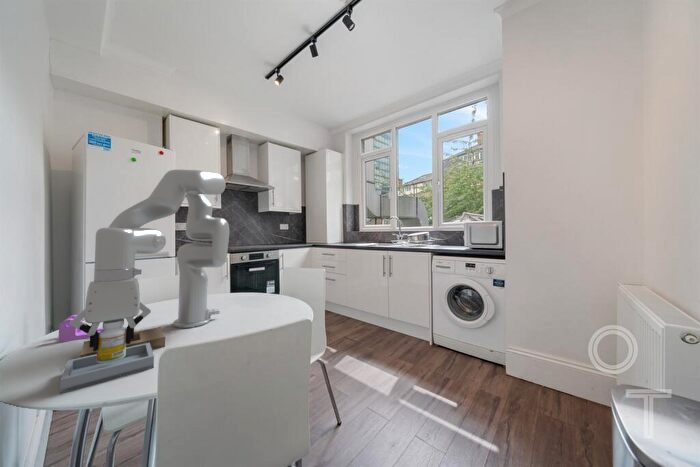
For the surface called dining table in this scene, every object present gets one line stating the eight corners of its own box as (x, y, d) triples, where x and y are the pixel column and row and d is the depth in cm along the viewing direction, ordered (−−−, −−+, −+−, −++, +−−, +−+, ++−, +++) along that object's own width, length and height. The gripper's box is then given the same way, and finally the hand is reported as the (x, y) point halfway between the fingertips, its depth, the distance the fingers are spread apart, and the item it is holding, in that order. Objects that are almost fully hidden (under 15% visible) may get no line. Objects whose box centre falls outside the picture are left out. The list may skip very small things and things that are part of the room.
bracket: (58, 342, 78) (59, 320, 78) (65, 336, 83) (66, 315, 83) (113, 334, 85) (114, 314, 85) (118, 329, 90) (118, 310, 90)
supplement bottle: (103, 355, 64) (105, 318, 65) (129, 352, 66) (131, 316, 67) (91, 365, 59) (93, 325, 60) (120, 362, 62) (122, 323, 62)
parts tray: (149, 352, 72) (149, 342, 73) (153, 367, 65) (153, 356, 65) (67, 372, 61) (67, 360, 61) (60, 393, 53) (60, 379, 54)
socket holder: (160, 335, 85) (160, 326, 85) (165, 346, 77) (165, 336, 77) (83, 351, 72) (84, 341, 72) (79, 366, 64) (80, 355, 64)
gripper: (155, 271, 72) (153, 332, 72) (66, 276, 60) (63, 350, 60) (158, 274, 67) (156, 341, 66) (61, 281, 55) (58, 362, 54)
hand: (112, 344), depth 63 cm, fingers closed on supplement bottle, 5 cm apart
